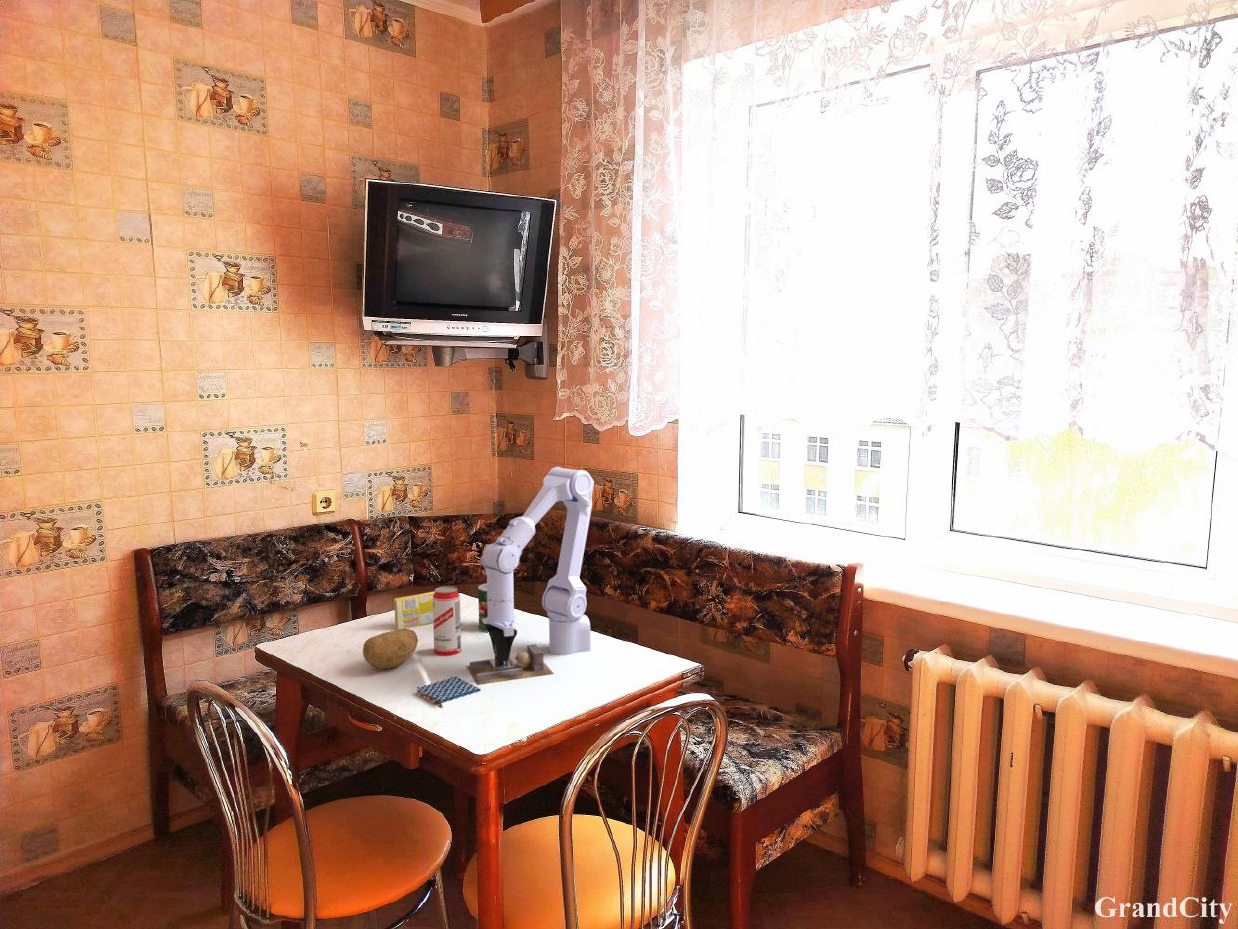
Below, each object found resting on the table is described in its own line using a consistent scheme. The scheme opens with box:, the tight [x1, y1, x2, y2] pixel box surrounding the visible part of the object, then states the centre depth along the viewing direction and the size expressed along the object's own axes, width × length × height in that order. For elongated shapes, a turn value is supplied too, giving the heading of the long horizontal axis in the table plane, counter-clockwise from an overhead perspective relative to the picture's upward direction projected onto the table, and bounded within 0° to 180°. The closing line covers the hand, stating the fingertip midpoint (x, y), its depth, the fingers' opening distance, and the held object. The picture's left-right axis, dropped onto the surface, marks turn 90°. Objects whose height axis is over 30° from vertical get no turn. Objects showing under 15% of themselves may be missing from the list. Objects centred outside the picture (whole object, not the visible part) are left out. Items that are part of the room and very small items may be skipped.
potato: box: [362, 628, 419, 669], centre depth 194 cm, size 10×14×8 cm
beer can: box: [432, 585, 462, 657], centre depth 200 cm, size 6×6×16 cm
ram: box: [489, 645, 517, 672], centre depth 188 cm, size 5×6×6 cm
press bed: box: [465, 643, 555, 686], centre depth 189 cm, size 17×12×5 cm
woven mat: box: [416, 676, 481, 708], centre depth 178 cm, size 10×11×2 cm
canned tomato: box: [477, 582, 488, 633], centre depth 221 cm, size 8×8×11 cm
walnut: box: [514, 651, 531, 668], centre depth 190 cm, size 4×4×4 cm
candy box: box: [393, 590, 435, 630], centre depth 224 cm, size 16×2×8 cm, turn 126°
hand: (501, 658), depth 188 cm, fingers closed on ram, 3 cm apart
